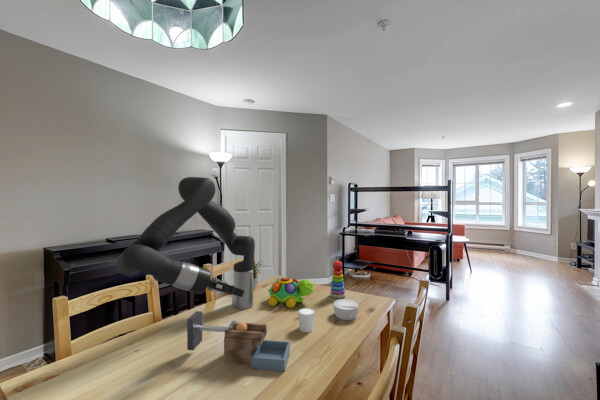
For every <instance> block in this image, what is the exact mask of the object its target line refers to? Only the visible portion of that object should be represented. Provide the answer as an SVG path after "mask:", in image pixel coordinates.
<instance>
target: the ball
mask: <svg viewBox="0 0 600 400" xmlns="http://www.w3.org/2000/svg"><path fill="white" fill-rule="evenodd" d="M246 323H247V322H243V321H240V322H238V324H237V326H236V330H240V331H246V330H247V325H246Z"/></svg>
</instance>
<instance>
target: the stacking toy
mask: <svg viewBox="0 0 600 400" xmlns="http://www.w3.org/2000/svg"><path fill="white" fill-rule="evenodd" d="M332 267H333V270H332V278H331V285H330V292H329V296H330V297H331V298H334V299H344V298H345V296H346V289H345V282H344V274H343V270H342V269H343V263H342V261H340V260H335V261H334V262H332Z"/></svg>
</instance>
